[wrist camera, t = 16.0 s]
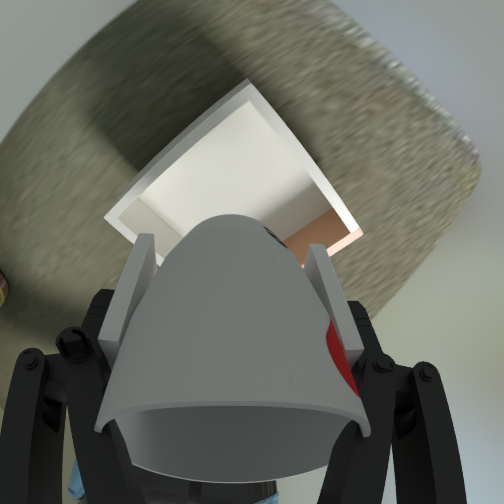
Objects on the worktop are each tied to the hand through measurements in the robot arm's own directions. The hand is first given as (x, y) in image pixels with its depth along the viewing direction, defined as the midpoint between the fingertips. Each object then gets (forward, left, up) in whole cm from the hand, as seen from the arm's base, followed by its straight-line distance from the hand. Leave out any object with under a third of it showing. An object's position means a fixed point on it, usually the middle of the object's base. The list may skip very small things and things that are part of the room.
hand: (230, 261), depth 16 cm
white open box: (-1, 0, -12) cm, 12 cm away
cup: (0, 0, 0) cm, 0 cm away
